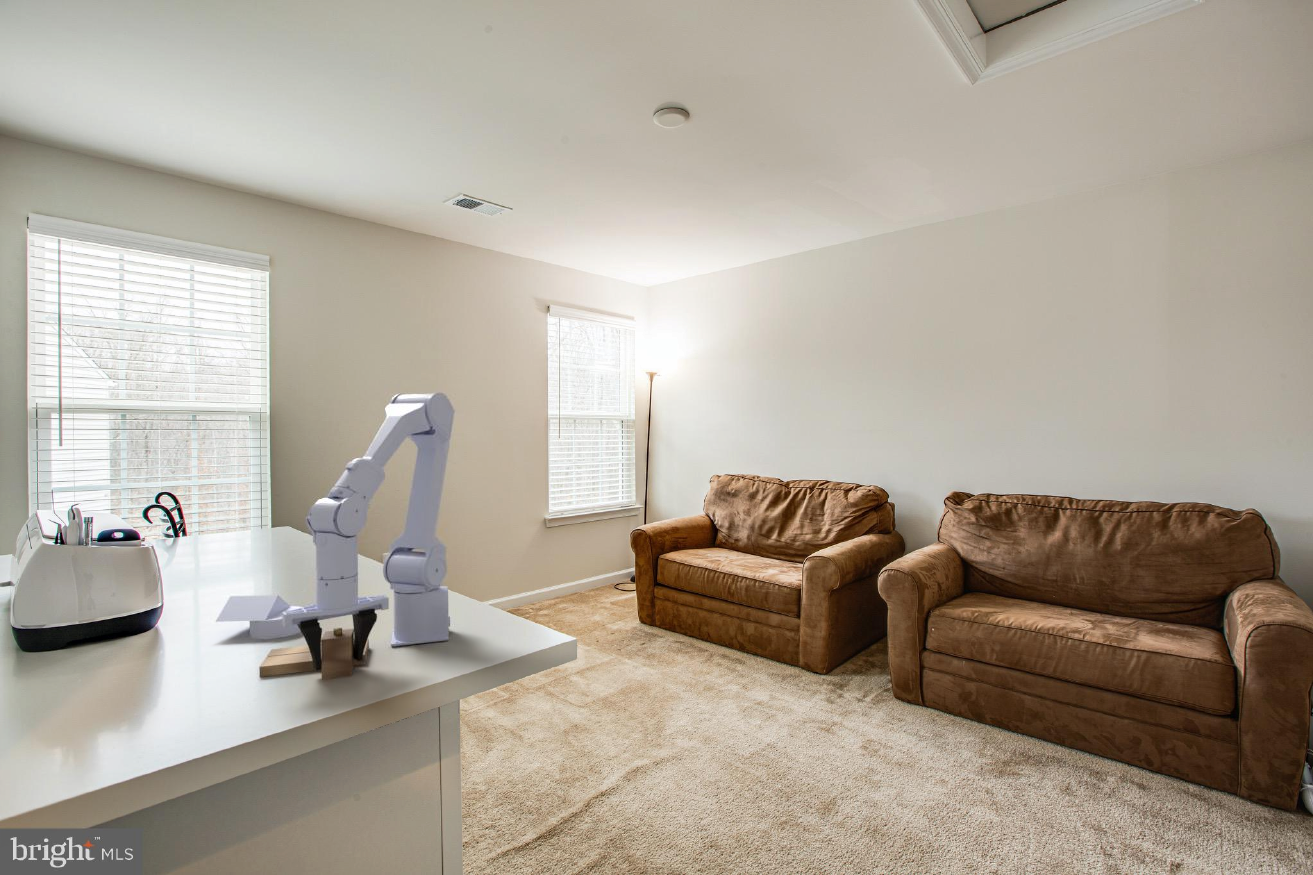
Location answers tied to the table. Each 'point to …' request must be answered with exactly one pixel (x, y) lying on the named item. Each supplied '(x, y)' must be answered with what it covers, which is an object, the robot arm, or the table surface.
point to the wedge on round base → (259, 615)
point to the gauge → (337, 653)
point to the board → (294, 660)
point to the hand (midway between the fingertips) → (338, 663)
